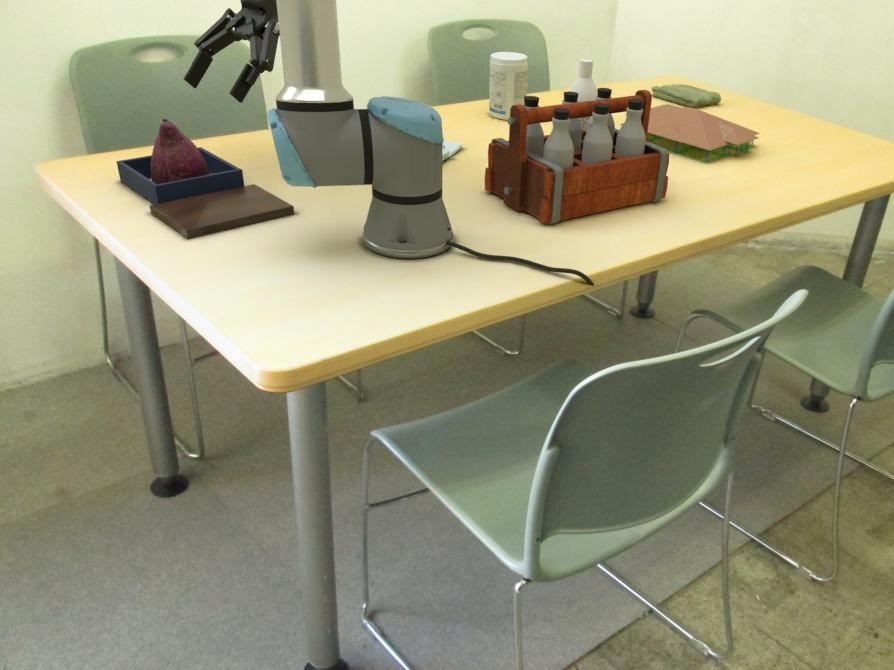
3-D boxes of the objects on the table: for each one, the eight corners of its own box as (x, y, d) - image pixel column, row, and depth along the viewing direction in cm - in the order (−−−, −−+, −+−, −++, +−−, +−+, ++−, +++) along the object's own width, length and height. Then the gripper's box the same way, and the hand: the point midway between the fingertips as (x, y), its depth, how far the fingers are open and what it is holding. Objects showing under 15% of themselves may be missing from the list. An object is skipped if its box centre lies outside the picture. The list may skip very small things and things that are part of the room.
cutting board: (294, 213, 153) (293, 205, 152) (187, 238, 141) (186, 230, 140) (255, 191, 161) (254, 183, 160) (151, 213, 149) (149, 205, 148)
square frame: (244, 190, 161) (242, 169, 159) (159, 208, 151) (154, 186, 149) (203, 166, 171) (200, 146, 169) (120, 181, 161) (116, 161, 159)
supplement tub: (521, 111, 223) (524, 51, 215) (529, 121, 215) (532, 59, 207) (485, 110, 221) (487, 50, 213) (491, 120, 213) (493, 59, 205)
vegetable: (195, 213, 158) (181, 143, 147) (143, 199, 159) (125, 127, 148) (223, 183, 165) (211, 113, 154) (173, 169, 166) (158, 99, 155)
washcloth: (677, 90, 254) (679, 79, 252) (722, 105, 243) (725, 93, 241) (647, 95, 247) (648, 83, 245) (692, 110, 236) (694, 98, 234)
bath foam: (586, 157, 193) (596, 65, 182) (558, 151, 195) (566, 60, 184) (597, 149, 198) (606, 59, 187) (570, 144, 200) (577, 55, 189)
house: (717, 167, 193) (724, 131, 189) (604, 133, 210) (607, 99, 206) (766, 149, 208) (773, 115, 203) (656, 118, 225) (661, 86, 221)
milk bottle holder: (674, 199, 173) (689, 102, 162) (536, 229, 155) (543, 121, 144) (608, 169, 187) (618, 77, 176) (474, 193, 168) (476, 92, 158)
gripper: (324, 20, 159) (269, 116, 156) (238, 0, 170) (185, 90, 168) (300, -9, 152) (241, 91, 150) (212, -27, 163) (156, 65, 161)
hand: (212, 91), depth 159 cm, fingers open, 13 cm apart
